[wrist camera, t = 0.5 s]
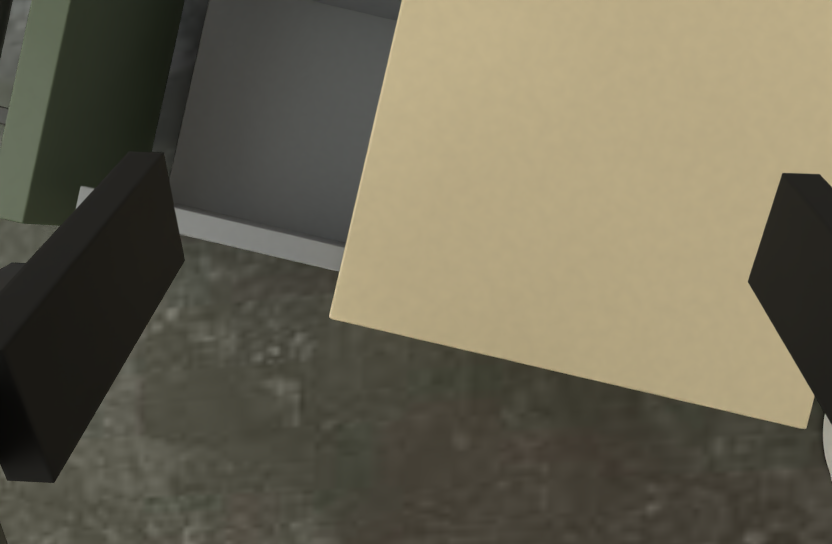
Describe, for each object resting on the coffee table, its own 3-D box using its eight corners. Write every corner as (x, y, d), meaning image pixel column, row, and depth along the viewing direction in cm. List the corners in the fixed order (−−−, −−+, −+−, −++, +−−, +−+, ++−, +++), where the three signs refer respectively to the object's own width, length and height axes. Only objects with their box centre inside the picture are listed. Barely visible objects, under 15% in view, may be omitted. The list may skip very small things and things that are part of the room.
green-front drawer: (11, 201, 31) (-149, 183, 23) (73, -85, 31) (-66, -219, 22) (412, 295, 31) (410, 314, 23) (479, 10, 31) (503, -85, 22)
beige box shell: (358, 295, 32) (328, 318, 22) (428, -9, 32) (433, -138, 21) (679, 370, 32) (807, 430, 22) (753, 68, 32) (922, -22, 21)
